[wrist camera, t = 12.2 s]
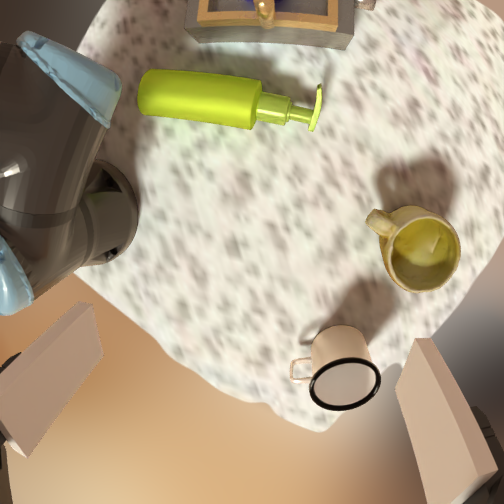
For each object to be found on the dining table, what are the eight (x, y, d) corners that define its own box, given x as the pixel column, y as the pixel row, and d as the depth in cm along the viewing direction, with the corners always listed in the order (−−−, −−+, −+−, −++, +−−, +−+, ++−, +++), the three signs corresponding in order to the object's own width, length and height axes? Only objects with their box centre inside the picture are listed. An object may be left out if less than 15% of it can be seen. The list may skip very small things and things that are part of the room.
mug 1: (368, 316, 42) (383, 354, 33) (367, 365, 45) (378, 405, 36) (286, 327, 44) (284, 367, 35) (293, 375, 47) (292, 417, 38)
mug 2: (465, 232, 34) (478, 266, 26) (412, 276, 41) (410, 317, 33) (406, 164, 35) (407, 180, 27) (355, 216, 41) (340, 244, 33)
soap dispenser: (159, 56, 31) (325, 80, 31) (159, 105, 36) (312, 131, 36) (136, 67, 27) (326, 93, 27) (138, 122, 32) (311, 152, 32)
